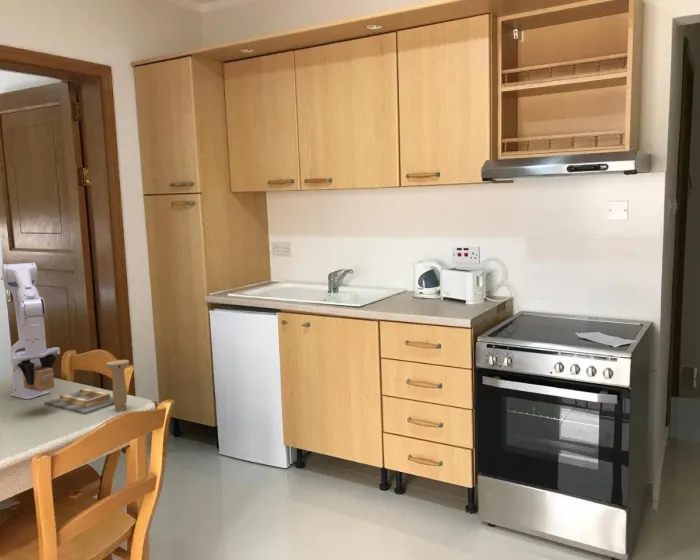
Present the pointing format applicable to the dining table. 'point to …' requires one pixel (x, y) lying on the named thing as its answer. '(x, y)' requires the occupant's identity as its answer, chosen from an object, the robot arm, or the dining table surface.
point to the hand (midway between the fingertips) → (38, 381)
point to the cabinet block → (41, 379)
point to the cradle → (82, 401)
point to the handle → (119, 383)
